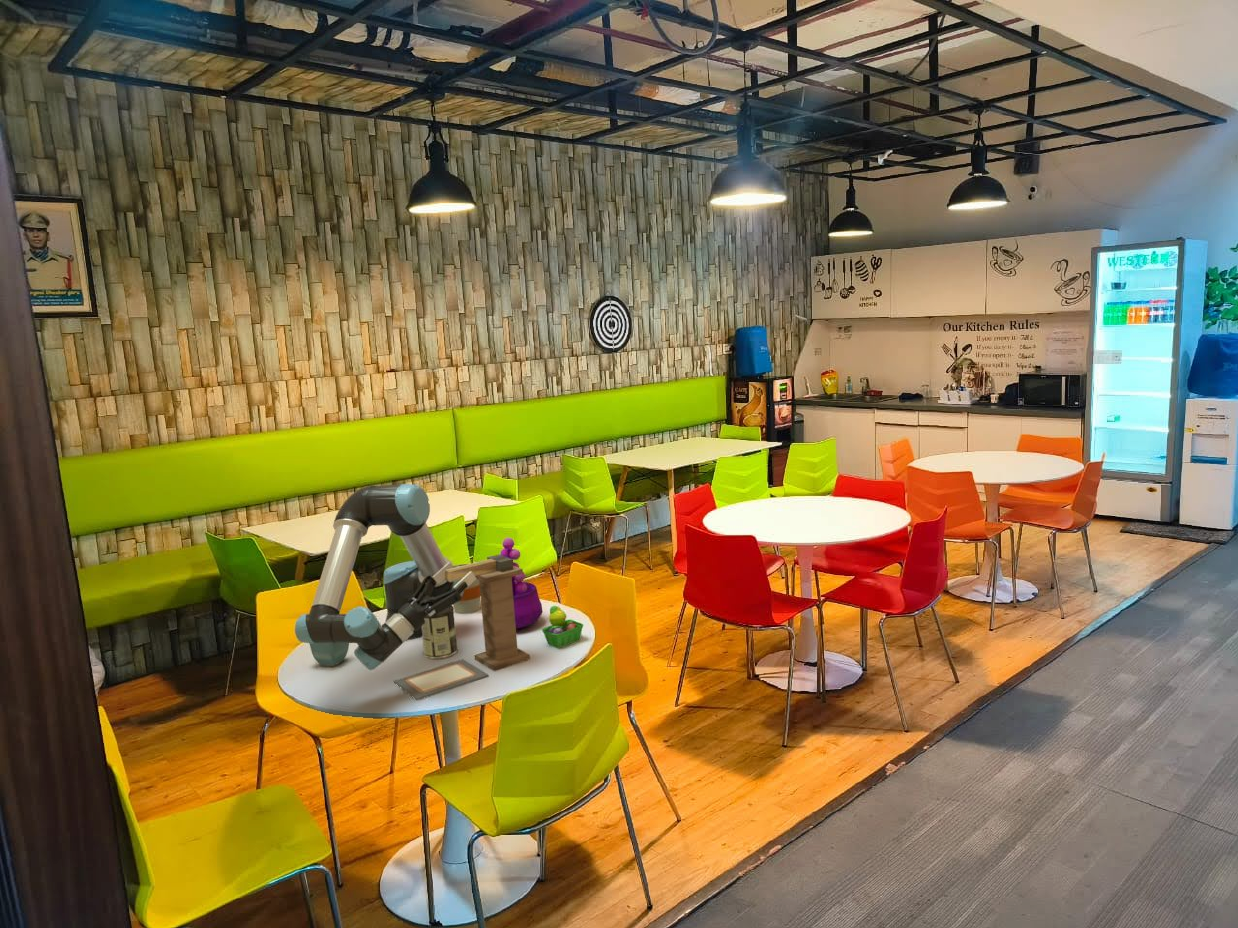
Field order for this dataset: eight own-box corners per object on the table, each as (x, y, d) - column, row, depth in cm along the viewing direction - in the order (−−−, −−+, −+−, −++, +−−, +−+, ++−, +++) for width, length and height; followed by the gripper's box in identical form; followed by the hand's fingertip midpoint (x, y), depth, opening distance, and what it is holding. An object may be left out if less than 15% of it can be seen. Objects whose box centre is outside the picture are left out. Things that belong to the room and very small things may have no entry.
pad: (393, 682, 241) (393, 680, 241) (462, 660, 254) (462, 658, 254) (416, 700, 229) (416, 697, 228) (488, 676, 242) (488, 673, 241)
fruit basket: (556, 650, 258) (554, 615, 256) (539, 643, 264) (536, 609, 262) (585, 639, 265) (583, 605, 263) (568, 633, 272) (565, 599, 270)
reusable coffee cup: (466, 617, 292) (462, 576, 290) (442, 611, 300) (437, 571, 297) (492, 606, 302) (488, 566, 299) (468, 601, 309) (464, 561, 307)
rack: (475, 659, 254) (466, 570, 250) (509, 648, 261) (502, 561, 257) (494, 671, 245) (486, 578, 240) (529, 659, 252) (522, 568, 247)
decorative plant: (477, 625, 284) (469, 538, 279) (525, 611, 295) (518, 527, 290) (504, 639, 269) (496, 548, 264) (553, 624, 280) (547, 537, 275)
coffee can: (444, 643, 269) (440, 601, 267) (464, 650, 262) (460, 607, 260) (417, 654, 262) (412, 610, 259) (436, 661, 254) (432, 617, 252)
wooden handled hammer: (441, 578, 243) (440, 568, 242) (499, 563, 254) (498, 554, 254) (454, 584, 237) (453, 573, 236) (513, 569, 248) (512, 559, 247)
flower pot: (353, 658, 261) (350, 630, 260) (335, 670, 253) (331, 641, 252) (329, 656, 264) (326, 629, 263) (311, 667, 256) (307, 639, 254)
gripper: (395, 620, 244) (450, 570, 253) (432, 643, 225) (490, 588, 234) (380, 602, 241) (436, 552, 250) (416, 623, 221) (476, 569, 230)
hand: (462, 569), depth 242 cm, fingers open, 13 cm apart
